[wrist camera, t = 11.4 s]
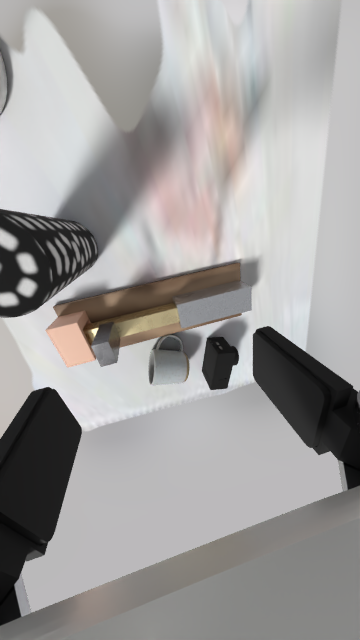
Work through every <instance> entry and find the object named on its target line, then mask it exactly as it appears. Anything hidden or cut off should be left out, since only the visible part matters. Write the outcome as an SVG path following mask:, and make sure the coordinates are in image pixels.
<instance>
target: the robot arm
mask: <svg viewBox="0 0 360 640" xmlns="http://www.w3.org/2000/svg"><path fill="white" fill-rule="evenodd" d="M6 96H7V75H6V70H5V65H4V61H3V58H2V55H1V52H0V113H1V112H2V109H3V107H4V104H5V102H6ZM253 376H254V379H255V381H256V382H257V383H258V385H259V386H260V387H261V388H262V390H263V391H264V392H265V393H266V395H267V396H268V397H269V399H270V400H271V401H272V402H273V404H274V405H275V406H276V407H277V409H278V410H279V411H280V413H281V414H282V415H283V416H284V418H285V419H286V420H287V421H288V423H289V424H290V425H291V426H292V428H293V429H294V430H295V431H296V433H297V434H298V435H299V436H300V437H301V439H302V440H303V442H304V443H305V444H306V445H307V446H308V447H310V448H313V449H314V450H315V451H316V452H317V453H318V455H320V454H323V453H326V452H329V451H331V452H332V453H333V455H334V456H335V457H336V458H337V459H338V463H339V470H340V476H341V483H342V489H343V492H341V493H338V494H335V495H333V496H330V497H327V498H324V499H322V500H319V501H317V502H314V503H311V504H308V505H306V506H303V507H301V508H298V509H295V510H293V511H290V512H288V513H285V514H282V515H280V516H277V517H275V518H272V519H269V520H267V521H264V522H262V523H259V524H256V525H254V526H251V527H249V528H246V529H244V530H241V531H239V532H236V533H233V534H231V535H228V536H225V537H223V538H220V539H218V540H215V541H213V542H210V543H208V544H205V545H203V546H200V547H197V548H195V549H192V550H190V551H187V552H185V553H182V554H179V555H177V556H174V557H172V558H169V559H167V560H164V561H162V562H159V563H156V564H154V565H151V566H149V567H146V568H144V569H141V570H139V571H136V572H133V573H131V574H128V575H126V576H123V577H121V578H118V579H116V580H113V581H111V582H108V583H106V584H103V585H101V586H98V587H96V588H93V589H91V590H88V591H86V592H83V593H81V594H78V595H76V596H73V597H71V598H68V599H66V600H63V601H60V602H58V603H55V604H53V605H50V606H48V607H45V608H43V609H41V610H38V611H35V612H33V613H31V609H30V606H29V602H28V598H27V594H26V590H25V586H24V582H23V579H22V575H21V571H22V568H23V565H24V563H25V561H29V560H32V559H35V558H38V557H41V556H43V555H45V551H46V548H47V544H48V542H49V541H50V540H51V539H52V537H53V535H54V532H55V528H56V525H57V521H58V518H59V514H60V510H61V507H62V503H63V500H64V496H65V492H66V488H67V485H68V481H69V478H70V474H71V470H72V467H73V463H74V460H75V456H76V452H77V449H78V445H79V442H80V438H81V434H82V429H81V426H80V425H79V423H78V422H77V420H76V419H75V417H74V416H73V414H72V413H71V411H70V410H69V409H68V407H67V406H66V404H65V403H64V401H63V400H62V398H61V397H60V395H59V394H58V393H57V391H56V390H55V389H51V388H50V387H46V388H42V389H39V390H35V391H33V392H31V394H30V395H29V396H28V398H27V399H26V401H25V403H24V404H23V406H22V407H21V409H20V410H19V412H18V413H17V415H16V416H15V418H14V419H13V421H12V422H11V424H10V425H9V427H8V428H7V430H6V431H5V433H4V434H3V436H2V437H1V439H0V640H360V391H359V392H357V391H356V390H354V389H353V386H352V385H351V384H349V383H348V382H346V381H345V380H344V379H342V378H341V377H340V376H338V375H337V374H335V373H334V372H333V371H331V370H330V369H328V368H327V367H326V366H324V365H323V364H321V363H320V362H319V361H317V360H316V359H314V358H313V357H312V356H310V355H309V354H307V353H306V352H305V351H303V350H302V349H301V348H299V347H298V346H296V345H295V344H294V343H292V342H291V341H289V340H288V339H287V338H285V337H284V336H282V335H281V334H280V333H278V332H277V331H275V330H274V329H273V328H271V327H269V326H267V327H263V328H259V329H257V330H256V332H255V333H254V334H253Z"/></svg>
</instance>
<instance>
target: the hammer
mask: <svg viewBox="0 0 360 640" xmlns="http://www.w3.org/2000/svg"><path fill="white" fill-rule="evenodd" d="M177 322H180V320H179V315H178V310H177V306H176V304H175V303H171V304H167V305H163V306H159V307H155V308H151V309H147V310H143V311H139V312H135V313H131V314H127V315H123V316H119V317H115V318H111V319H106V320H102V321H98V322H94V323H90V324H86V325H85V326H84V328H83V332H84V334H85V336H86V338H87V340H88V342H89V344H90V345H91V347H92V349H93V351H94V353H95V355H96V357H97V359H98V362H99V364H100V366H101V367H103V366H106V365H110V364H114V363H117V360H118V354H119V347H120V341H121V339H120V337H124V336H127V335H131V334H135V333H139V332H143V331H147V330H151V329H154V328H158V327H162V326H166V325H170V324H174V323H177Z"/></svg>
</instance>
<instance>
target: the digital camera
mask: <svg viewBox="0 0 360 640" xmlns="http://www.w3.org/2000/svg"><path fill="white" fill-rule="evenodd" d="M238 361H239V355H238V351H237V349H236V347H234V346H230V345H229V344H228V343H227V341H226V340H225V339H224V338H223V337H211V338H207V342H206V348H205V354H204V361H203V367H202V372H203V375H204V377H205V379H206V381H207V383H208V385H209V388H210V390H216V389H226V388H227V387H228V383H229V379H230V375H231V371H232V367H233V365H237V364H238Z"/></svg>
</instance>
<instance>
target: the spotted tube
mask: <svg viewBox="0 0 360 640" xmlns="http://www.w3.org/2000/svg"><path fill="white" fill-rule="evenodd" d="M97 256H98V247H97V243H96V240H95V239H94V237H93V235H92V234H91V233H90V231H89V230H88V229H86V228H85V227H84V226H82V225H81V224H79V223H77V222H74V221H70V220H64V219H58V218H52V217H46V216H40V215H34V214H27V213H21V212H15V211H9V210H3V209H0V317H3V318H8V317H18V316H22V315H26V314H28V313H31V312H33V311H35V310H36V309H38V308H39V307H40V306H42V305H43V304H44V303H45V302H47V301H48V300H49V299H51V298H52V297H53V296H54V295H56V294H57V293H58V292H60V291H61V290H62V289H64V288H65V287H66V286H67V285H69V284H70V283H71V282H73V281H74V280H75V279H76V278H78V277H79V276H80V275H82V274H83V273H84V272H86V271H87V270H88V269H89V268H91V267H92V266H93V265H94V263H95V262H96V260H97Z"/></svg>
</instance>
